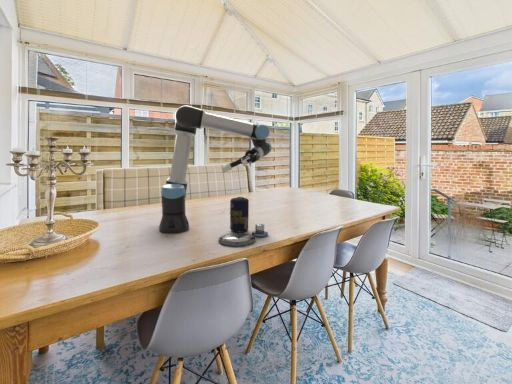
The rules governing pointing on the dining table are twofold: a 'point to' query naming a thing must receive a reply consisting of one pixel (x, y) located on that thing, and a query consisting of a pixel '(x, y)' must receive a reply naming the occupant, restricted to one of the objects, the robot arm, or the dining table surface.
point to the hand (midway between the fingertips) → (232, 167)
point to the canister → (239, 214)
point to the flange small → (259, 231)
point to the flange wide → (236, 240)
